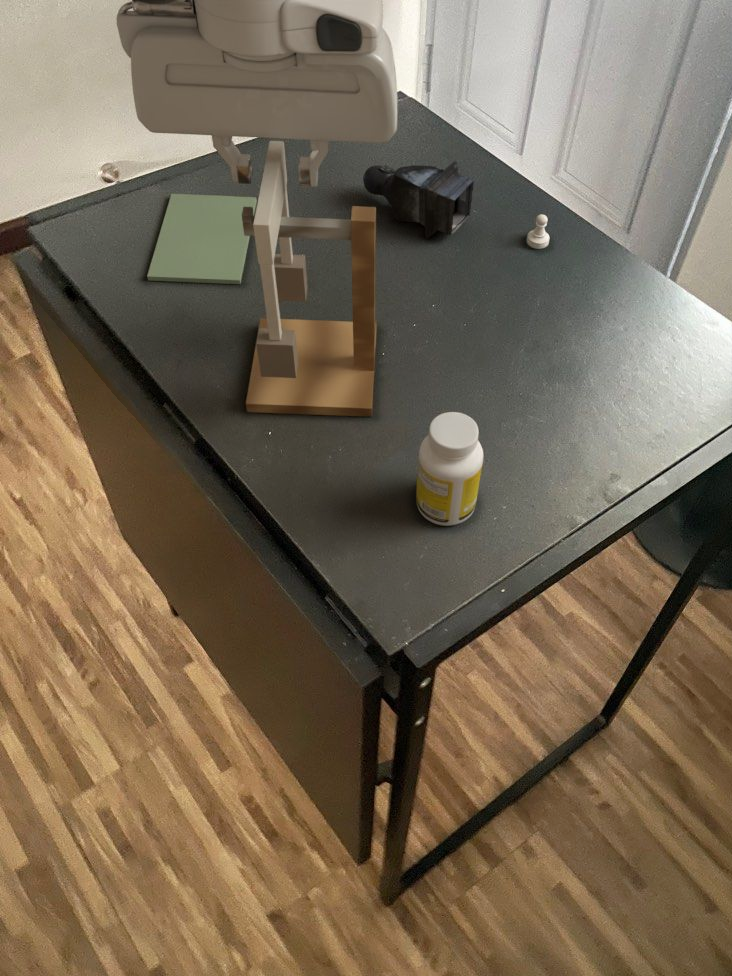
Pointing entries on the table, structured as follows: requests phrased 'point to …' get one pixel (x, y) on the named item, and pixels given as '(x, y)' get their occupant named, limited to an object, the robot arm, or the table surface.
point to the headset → (277, 268)
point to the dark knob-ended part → (424, 195)
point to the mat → (202, 240)
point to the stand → (327, 332)
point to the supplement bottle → (449, 469)
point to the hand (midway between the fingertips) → (276, 181)
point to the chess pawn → (539, 234)
